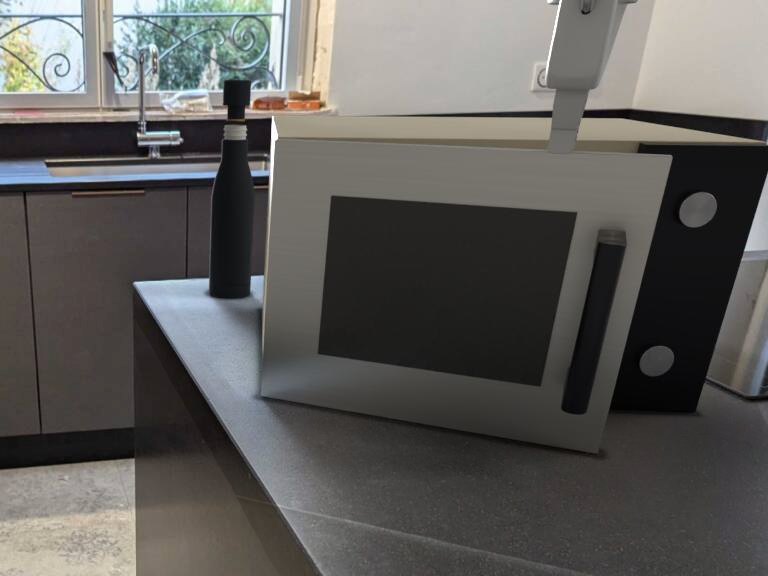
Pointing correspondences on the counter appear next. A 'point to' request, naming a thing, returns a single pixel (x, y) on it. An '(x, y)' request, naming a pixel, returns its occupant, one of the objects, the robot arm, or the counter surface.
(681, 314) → the microwave
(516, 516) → the counter surface
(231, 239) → the black screw-cap bottle
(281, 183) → the microwave door
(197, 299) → the counter surface
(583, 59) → the robot arm
